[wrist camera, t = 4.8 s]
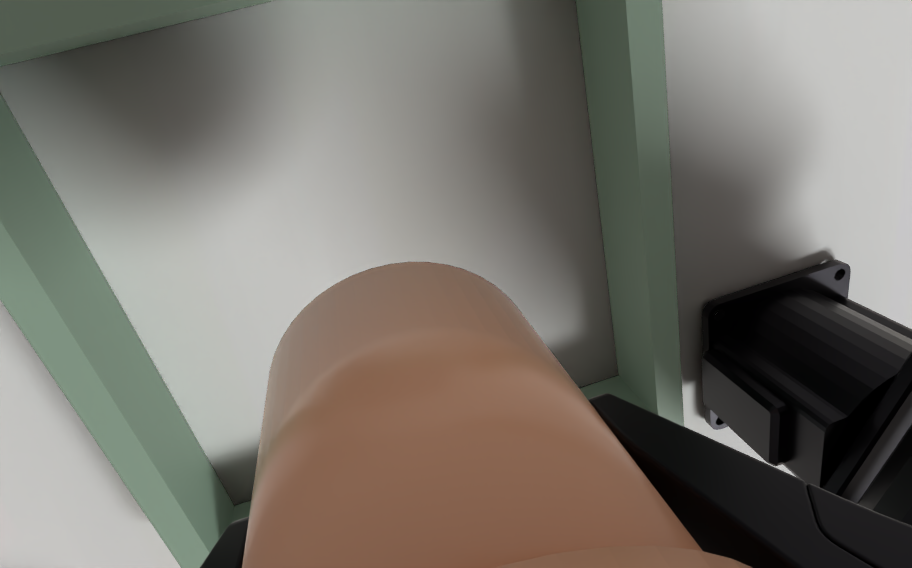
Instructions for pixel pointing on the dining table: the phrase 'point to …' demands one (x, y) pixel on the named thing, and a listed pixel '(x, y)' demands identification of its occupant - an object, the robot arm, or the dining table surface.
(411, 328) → the peach mushroom knob
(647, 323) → the cold frame
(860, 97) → the dining table surface
